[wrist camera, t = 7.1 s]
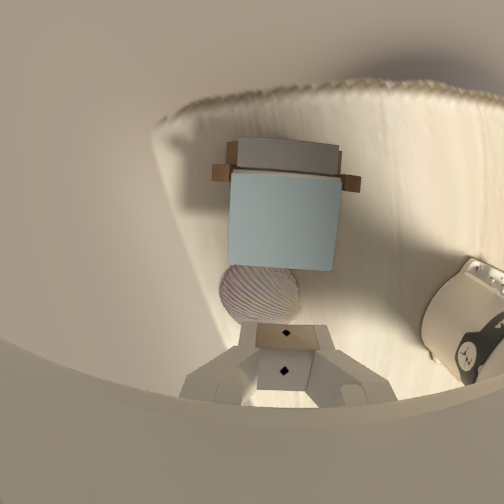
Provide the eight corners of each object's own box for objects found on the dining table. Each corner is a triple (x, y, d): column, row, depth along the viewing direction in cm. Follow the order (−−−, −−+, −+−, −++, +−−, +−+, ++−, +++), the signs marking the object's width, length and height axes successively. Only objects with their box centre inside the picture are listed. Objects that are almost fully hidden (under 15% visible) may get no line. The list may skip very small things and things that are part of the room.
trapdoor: (332, 150, 26) (344, 145, 21) (322, 255, 29) (331, 271, 24) (239, 142, 26) (233, 136, 21) (234, 249, 29) (227, 264, 24)
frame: (339, 151, 29) (363, 145, 21) (336, 187, 30) (359, 192, 22) (229, 142, 29) (214, 132, 21) (227, 178, 30) (211, 180, 22)
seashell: (291, 350, 33) (214, 341, 31) (282, 326, 38) (213, 315, 36) (321, 280, 30) (234, 263, 28) (306, 261, 35) (231, 245, 33)
